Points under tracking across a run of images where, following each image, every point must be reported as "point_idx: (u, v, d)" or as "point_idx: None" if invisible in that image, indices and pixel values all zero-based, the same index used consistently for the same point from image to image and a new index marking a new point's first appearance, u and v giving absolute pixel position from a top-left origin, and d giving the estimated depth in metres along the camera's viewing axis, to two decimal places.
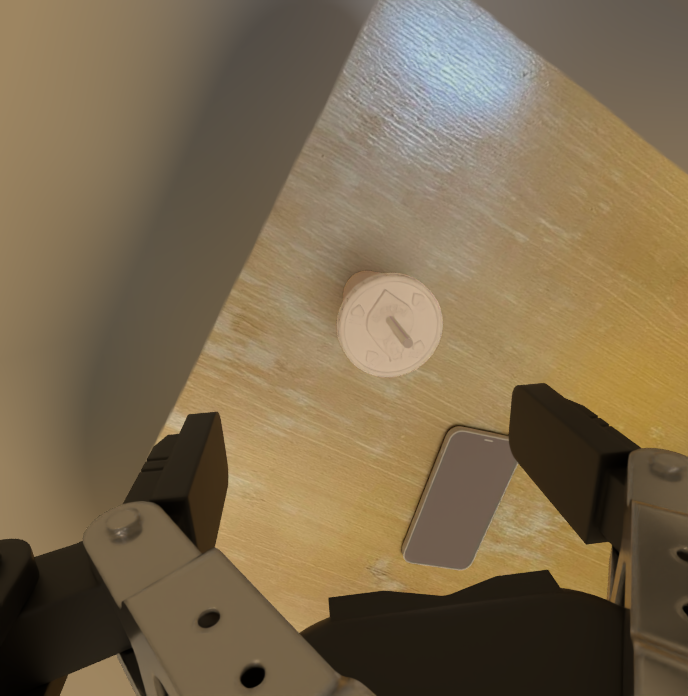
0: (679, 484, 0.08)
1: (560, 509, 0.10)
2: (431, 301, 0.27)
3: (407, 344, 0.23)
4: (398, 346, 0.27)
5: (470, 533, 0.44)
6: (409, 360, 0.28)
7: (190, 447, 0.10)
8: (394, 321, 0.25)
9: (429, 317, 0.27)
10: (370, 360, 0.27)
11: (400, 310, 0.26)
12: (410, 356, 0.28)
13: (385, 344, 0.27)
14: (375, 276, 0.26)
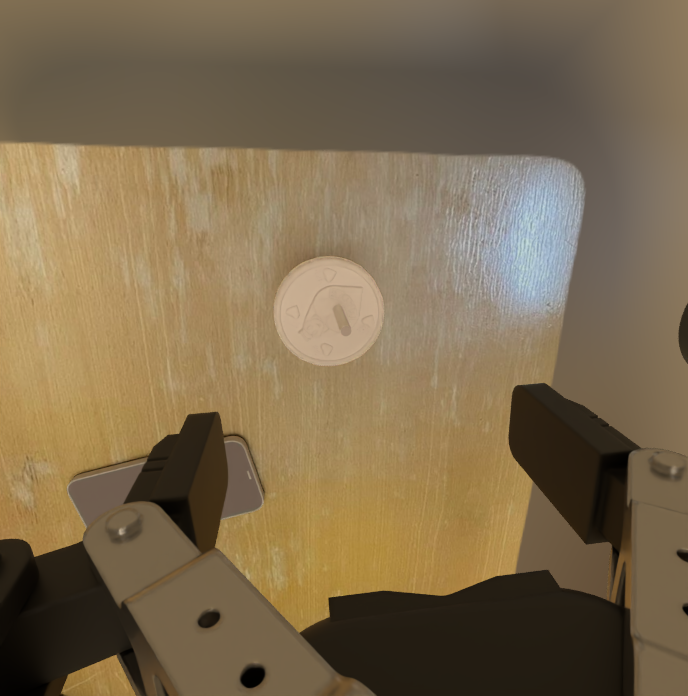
0: (679, 484, 0.08)
1: (559, 508, 0.10)
2: (373, 334, 0.26)
3: (344, 331, 0.22)
4: (317, 331, 0.26)
5: None
6: (308, 349, 0.26)
7: (190, 447, 0.10)
8: (343, 311, 0.24)
9: (357, 342, 0.26)
10: (288, 313, 0.25)
11: (351, 312, 0.26)
12: (313, 348, 0.26)
13: (312, 318, 0.25)
14: (367, 272, 0.26)
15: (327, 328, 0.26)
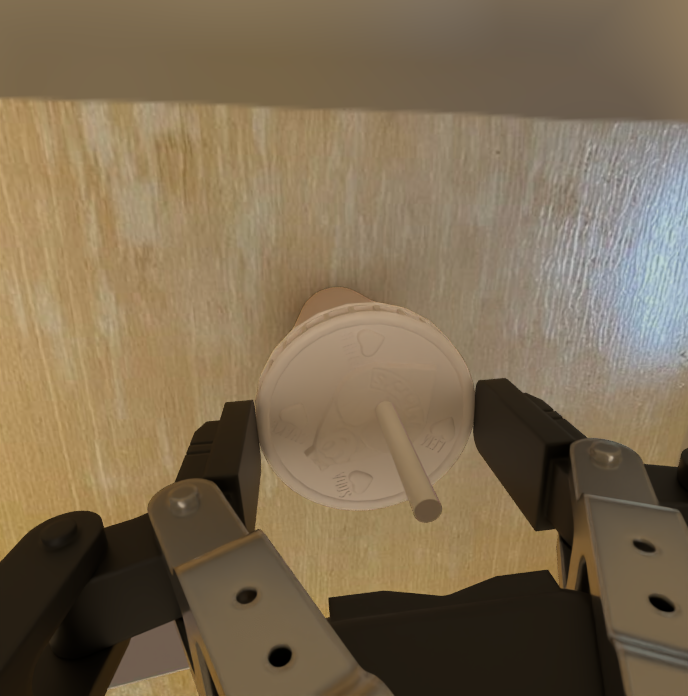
0: (612, 471, 0.08)
1: (514, 498, 0.11)
2: (451, 453, 0.13)
3: (425, 511, 0.09)
4: (343, 451, 0.13)
5: None
6: (325, 482, 0.13)
7: (233, 431, 0.10)
8: (402, 424, 0.11)
9: None
10: (286, 419, 0.13)
11: (412, 415, 0.13)
12: (334, 479, 0.13)
13: (334, 427, 0.13)
14: (442, 334, 0.13)
15: (363, 446, 0.13)
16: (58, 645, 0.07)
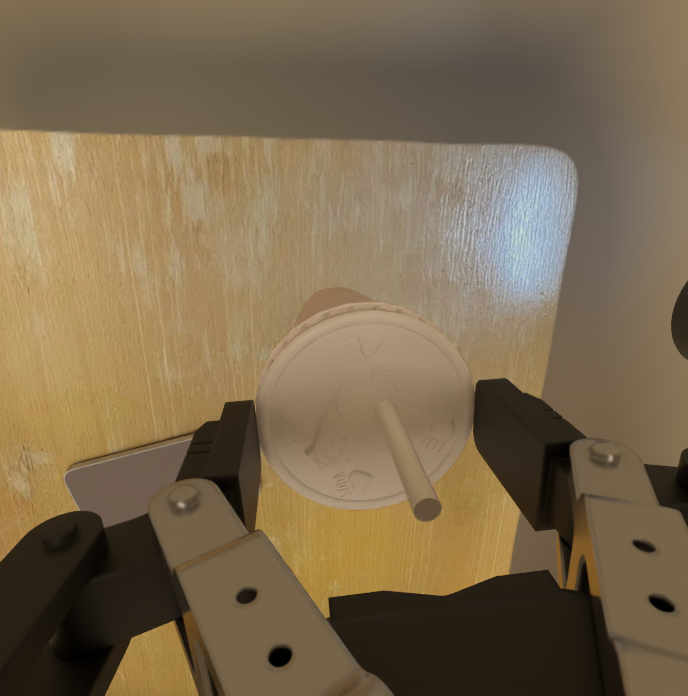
0: (612, 471, 0.08)
1: (514, 497, 0.11)
2: (450, 452, 0.14)
3: (424, 509, 0.09)
4: (343, 451, 0.13)
5: (139, 514, 0.39)
6: (325, 482, 0.13)
7: (233, 431, 0.10)
8: (402, 424, 0.11)
9: None
10: (285, 418, 0.13)
11: (412, 414, 0.13)
12: (334, 479, 0.13)
13: (334, 427, 0.13)
14: (442, 333, 0.13)
15: (363, 445, 0.13)
16: (58, 645, 0.07)
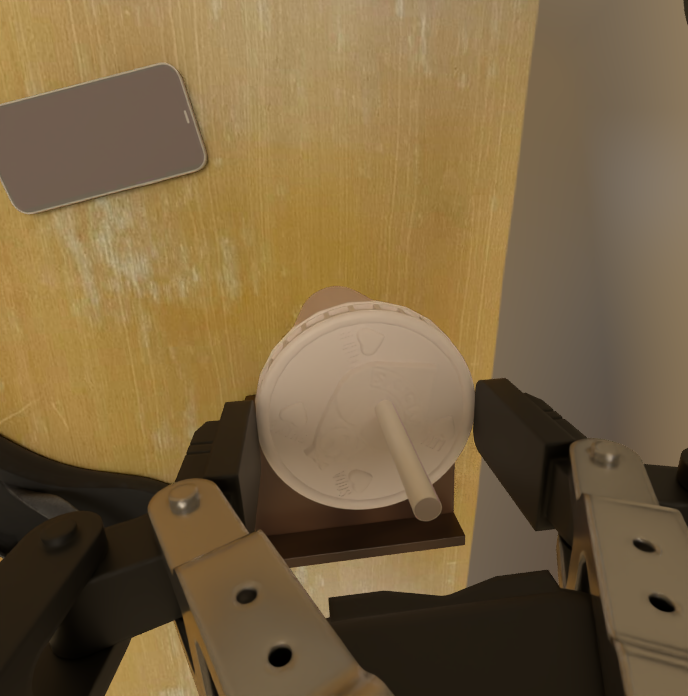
0: (612, 471, 0.08)
1: (514, 498, 0.11)
2: (450, 452, 0.13)
3: (424, 509, 0.09)
4: (343, 450, 0.13)
5: (66, 181, 0.34)
6: (324, 481, 0.13)
7: (233, 431, 0.10)
8: (402, 423, 0.11)
9: None
10: (285, 418, 0.13)
11: (412, 414, 0.13)
12: (333, 478, 0.13)
13: (334, 426, 0.13)
14: (442, 333, 0.13)
15: (363, 445, 0.13)
16: (58, 645, 0.07)
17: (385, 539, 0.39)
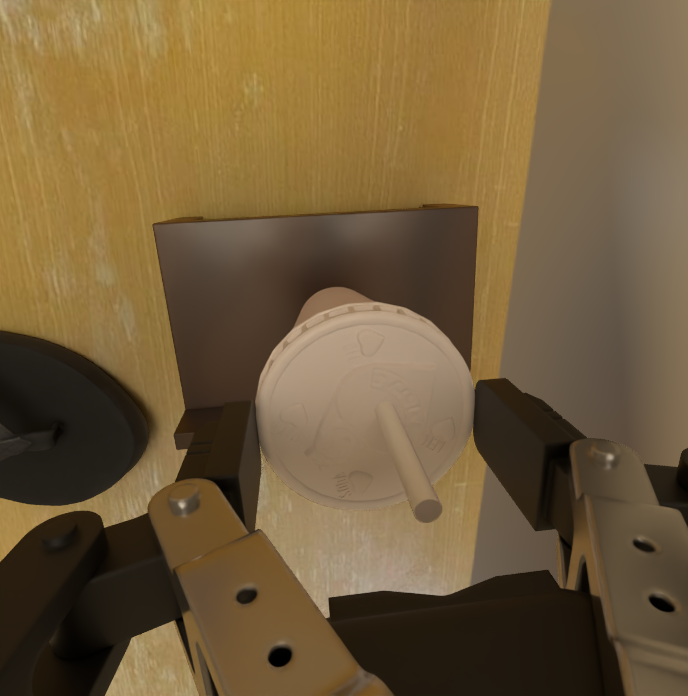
0: (612, 471, 0.08)
1: (514, 497, 0.11)
2: (451, 453, 0.13)
3: (425, 511, 0.09)
4: (343, 451, 0.13)
5: None
6: (325, 482, 0.13)
7: (232, 431, 0.10)
8: (402, 424, 0.11)
9: None
10: (286, 419, 0.13)
11: (412, 415, 0.13)
12: (334, 480, 0.13)
13: (334, 427, 0.13)
14: (442, 334, 0.13)
15: (363, 446, 0.13)
16: (58, 645, 0.07)
17: None
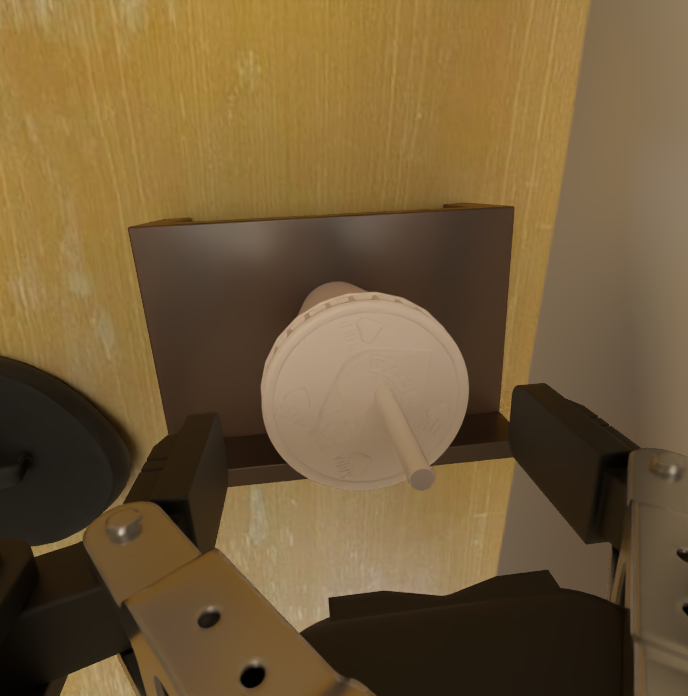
0: (679, 484, 0.08)
1: (560, 508, 0.10)
2: (445, 436, 0.14)
3: (419, 479, 0.09)
4: (344, 433, 0.14)
5: None
6: (326, 463, 0.14)
7: (190, 447, 0.10)
8: (399, 406, 0.12)
9: None
10: (289, 402, 0.13)
11: (409, 399, 0.13)
12: (335, 461, 0.14)
13: (335, 410, 0.13)
14: (437, 322, 0.14)
15: (362, 428, 0.14)
16: None
17: None
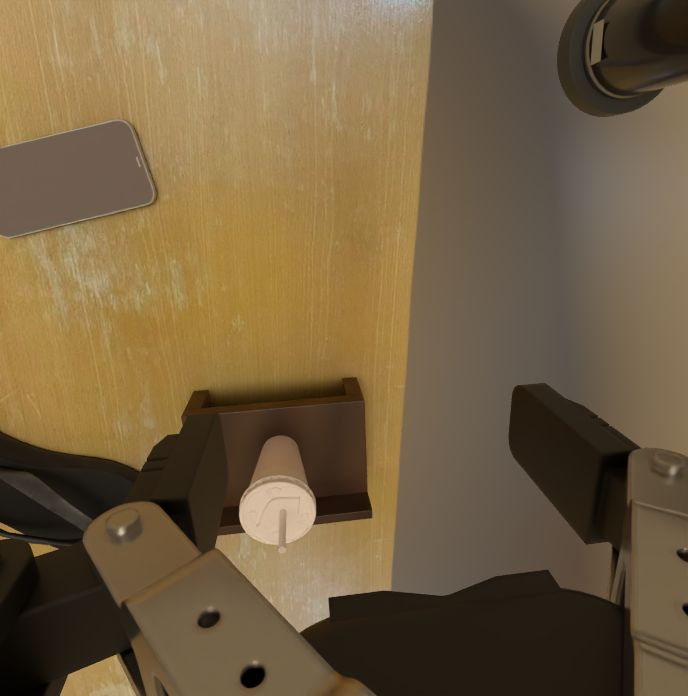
0: (679, 484, 0.08)
1: (559, 509, 0.10)
2: (308, 524, 0.38)
3: (281, 550, 0.33)
4: (269, 525, 0.37)
5: (39, 212, 0.41)
6: (264, 535, 0.38)
7: (190, 447, 0.10)
8: (285, 519, 0.36)
9: (298, 529, 0.38)
10: (249, 515, 0.37)
11: (292, 513, 0.37)
12: (267, 534, 0.38)
13: (265, 517, 0.37)
14: (303, 484, 0.37)
15: (276, 523, 0.37)
16: None
17: None
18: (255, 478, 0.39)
